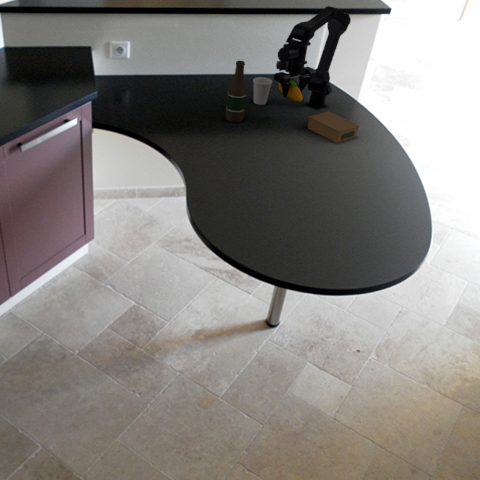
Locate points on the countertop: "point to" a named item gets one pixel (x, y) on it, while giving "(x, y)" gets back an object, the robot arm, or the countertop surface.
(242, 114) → the beer bottle
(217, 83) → the countertop surface
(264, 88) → the dixie cup
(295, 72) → the robot arm
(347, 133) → the takeaway box
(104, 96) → the countertop surface
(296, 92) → the corn
